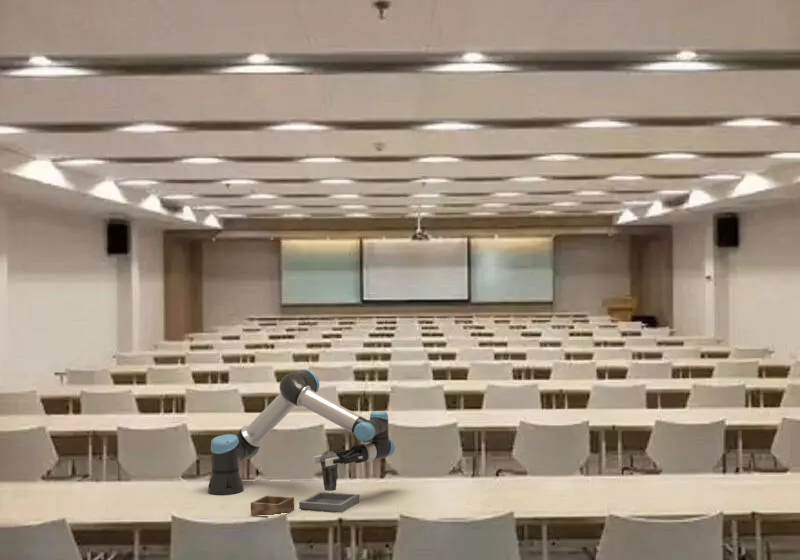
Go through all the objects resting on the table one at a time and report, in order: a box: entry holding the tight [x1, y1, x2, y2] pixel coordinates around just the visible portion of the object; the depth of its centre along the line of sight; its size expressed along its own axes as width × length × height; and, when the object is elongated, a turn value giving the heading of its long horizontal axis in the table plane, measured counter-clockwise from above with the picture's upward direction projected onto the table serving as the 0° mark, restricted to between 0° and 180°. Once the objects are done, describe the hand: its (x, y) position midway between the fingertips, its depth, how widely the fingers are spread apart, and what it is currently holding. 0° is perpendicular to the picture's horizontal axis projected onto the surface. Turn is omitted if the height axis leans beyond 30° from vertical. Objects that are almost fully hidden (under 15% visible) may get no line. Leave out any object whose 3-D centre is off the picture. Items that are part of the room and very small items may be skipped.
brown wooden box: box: [250, 495, 295, 516], centre depth 382 cm, size 12×12×5 cm
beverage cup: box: [320, 439, 339, 492], centre depth 391 cm, size 7×7×20 cm
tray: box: [298, 491, 360, 513], centre depth 391 cm, size 18×18×3 cm
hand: (319, 461), depth 387 cm, fingers closed on beverage cup, 7 cm apart
